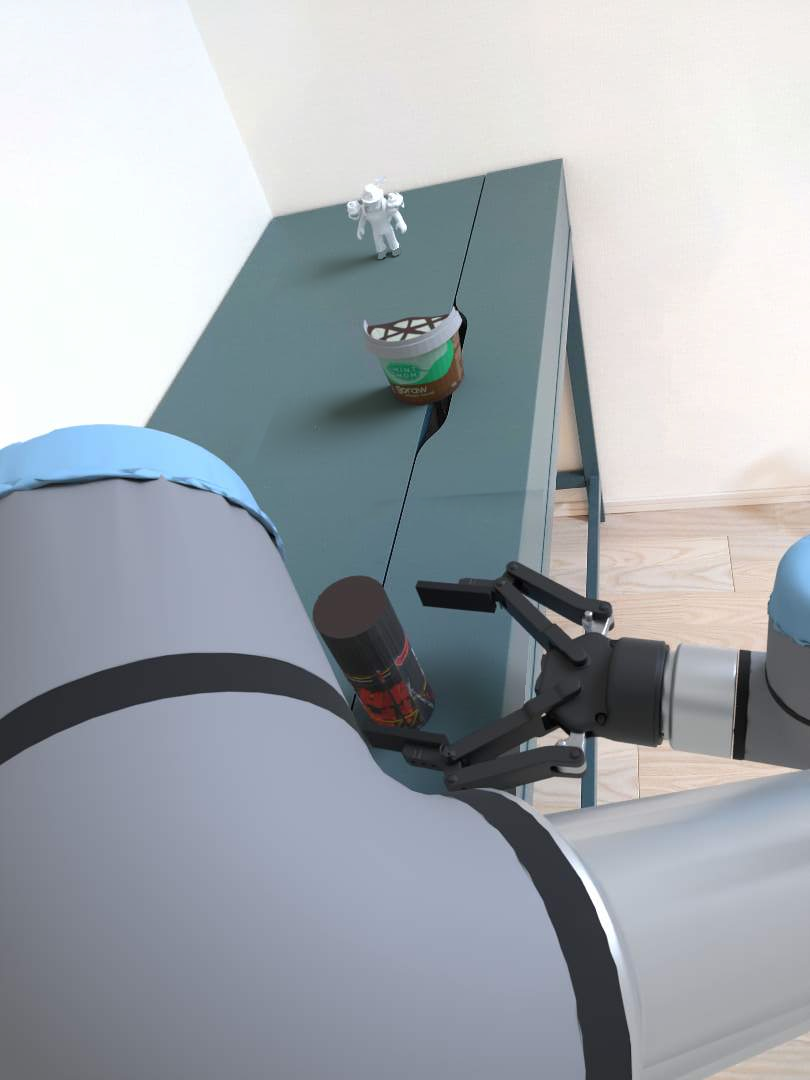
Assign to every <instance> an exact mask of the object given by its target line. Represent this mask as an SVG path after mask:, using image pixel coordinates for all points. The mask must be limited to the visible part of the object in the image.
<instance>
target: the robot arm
mask: <svg viewBox="0 0 810 1080" xmlns="http://www.w3.org/2000/svg"><path fill="white" fill-rule="evenodd" d="M285 558H286V552H285V544H284V543H283V540H282V538H281V536H280V534H279V532H278V530H277V526H276V525H275V524H274V523H273V521H272V520H271V519H270V518H269V516H268V515H267V514H266V513H265V512H263V511H262V510H261V508H260V507H259V505H258V503H257V502H256V499H255V498H254V496H253V494H252V492H251V491H250V488H248V486H247V485H246V483H245V482H244V481H243V480H242V478H241V477H240V475H238V474H237V473H236V471H234V470H233V469H232V468H231V467H230V466H229V465H228V464H227V463H225V461H223V460H222V459H221V458H219V457H218V456H216V455H215V454H213V453H212V452H210V451H209V450H207V449H206V448H205V447H202V446H200V445H198V444H196V443H194V442H192V441H190V440H187V439H185V438H183V437H180V436H178V435H174V434H172V433H168V432H164V431H161V430H158V429H153V428H148V427H143V426H136V425H128V424H113V423H105V424H104V423H103V424H102V423H97V424H81V425H73V426H66V427H61V428H57V429H53V430H52V431H49V432H48V433H45V434H41V435H39V436H35V437H33V438H30V439H28V440H26V441H17V442H13V443H11V444H8V445H5V446H4V447H2V448H1V449H0V1080H705V1079H707V1078H709V1077H712V1076H714V1075H716V1074H719V1073H721V1072H723V1071H726V1070H728V1069H730V1068H732V1067H734V1066H736V1065H739V1064H741V1063H744V1062H745V1061H748V1060H750V1059H752V1058H754V1057H757V1056H759V1055H761V1054H763V1053H766V1052H768V1051H770V1050H773V1049H775V1048H778V1047H779V1046H782V1045H784V1044H786V1043H788V1042H791V1041H793V1040H795V1039H797V1038H800V1037H802V1036H804V1035H807V1034H809V1033H810V534H807V535H805V536H803V537H801V538H800V539H798V540H797V541H795V542H794V543H793V544H792V545H791V546H790V547H788V549H787V550H786V551H785V552H784V554H783V556H782V557H781V559H780V560H779V562H778V565H777V568H776V573H775V577H774V578H775V579H774V583H773V587H772V591H771V593H770V595H769V599H768V601H767V604H766V605H767V609H766V610H767V613H766V614H767V615H768V620H767V635H766V637H767V638H766V640H767V641H766V651H756V650H748V649H739V648H733V647H726V646H725V647H724V646H716V645H707V644H698V643H690V642H681V643H679V644H678V645H677V646H676V649H675V650H671V648H670V645H669V644H667V643H666V641H664V640H657V639H647V638H638V637H630V636H629V637H628V636H623V637H620V638H618V639H613V638H610V637H607V636H608V633H609V632H611V631H613V630H614V628H615V618H614V611H613V605H612V603H610V602H609V601H607V600H601V599H595V598H590V597H585V596H583V595H582V594H579V593H578V592H576V591H574V590H572V589H570V588H568V587H566V586H564V585H562V584H560V583H558V582H556V581H555V580H553V579H551V578H549V577H547V576H545V575H543V574H541V573H540V572H538V571H536V570H534V569H533V568H530V567H529V566H527V565H525V564H523V563H521V562H519V561H516V560H512V561H509V562H508V563H507V564H506V565H505V571H504V573H502V575H501V576H500V577H497V578H496V579H486V578H485V579H484V578H472V577H463V578H459V580H458V583H455V582H442V581H431V580H420V579H419V580H417V581H416V584H415V586H414V588H415V590H416V593H417V595H418V597H419V600H420V603H421V604H422V607H429V608H438V609H448V610H457V611H458V610H459V611H469V612H477V613H479V612H480V613H488V614H495V613H496V610H497V606H498V605H499V609H500V610H505V611H506V612H507V613H508V614H509V615H510V616H511V617H512V619H514V620H515V621H516V623H518V625H520V626H521V628H523V630H525V631H526V632H527V633H528V634H529V635H530V636H531V637H532V639H534V640H535V641H536V642H537V643H538V645H540V647H542V648H543V649H544V651H545V652H546V653H542V655H541V659H540V673H539V675H538V677H537V678H536V680H535V683H534V688H533V690H534V694H535V697H533V698H530V699H528V700H527V701H525V703H524V704H523V706H522V707H521V708H519V709H517V710H516V711H513V712H511V713H509V714H507V715H505V716H503V717H501V718H499V719H498V720H496V721H494V722H491V723H490V724H488V725H486V726H484V727H483V728H481V729H479V730H477V731H475V732H473V733H470V734H469V735H467V736H465V737H463V738H461V739H460V740H458V741H455V742H453V743H450V741H449V739H448V737H447V734H444V733H443V734H442V733H437V732H431V731H426V730H420V729H419V730H413V729H407V728H401V727H395V726H389V725H383V724H377V723H373V722H372V721H364V723H363V725H362V728H361V730H360V727H359V725H358V723H357V721H356V719H355V716H354V713H353V711H352V710H351V707H350V705H349V703H348V701H347V699H346V697H345V695H344V693H343V690H342V688H341V686H340V684H339V681H338V680H337V678H336V675H335V673H334V671H333V668H332V666H331V664H330V662H329V660H328V657H327V655H326V653H325V651H324V649H323V647H322V644H321V642H320V640H319V638H318V635H317V633H316V631H315V629H314V627H313V624H312V622H311V619H310V618H309V616H308V613H307V611H306V608H305V607H304V605H303V602H302V600H301V597H300V595H299V593H298V591H297V589H296V587H295V585H294V583H293V580H292V578H291V576H290V574H289V571H288V570H287V567H286V565H285V562H286V561H285ZM529 599H531V600H532V601H534V602H536V603H537V604H539V605H541V606H543V607H545V608H547V609H548V610H550V611H552V612H554V613H555V614H557V615H559V616H561V617H563V618H565V619H567V620H568V621H570V622H572V623H573V624H576V625H578V626H580V627H582V628H583V630H584V631H585V632H586V633H584V634H582V635H579V636H577V637H574V638H572V637H571V636H569V635H568V634H567V633H566V632H565V631H564V630H563V629H562V628H561V626H559V624H557V623H555V622H554V623H553V622H552V621H551V620H550V619H548V617H547V616H546V615H544V614H543V612H541V610H540V609H538V607H536V606H535V604H533V603H532V602H531V601H530V600H529ZM497 603H498V604H497ZM559 729H561V730H562V731H563V732H564V733H565V734H566V735H567V736H568V737H567V738H565V739H558V740H557V741H556V742H555V744H554V745H544V746H539V747H535V748H531V749H528V750H523V751H520V752H517V753H513V754H508V755H505V756H502V757H500V756H501V755H503V754H505V753H507V752H509V751H511V750H513V749H515V748H516V747H518V746H521V745H522V744H525V743H527V742H528V741H530V740H532V739H534V738H538V739H539V738H544V737H545V736H547V735H549V734H550V733H553V732H555V731H556V730H559ZM362 733H363V734H362ZM363 735H364V736H365V739H366V740H367V741H368V743H369V744H370V746H371V747H372V748H373V749H380V750H385V751H391V752H397V753H401V755H402V757H403V759H404V761H405V762H406V763H407V764H408V765H409V766H411V767H416V768H422V769H427V770H432V771H436V772H437V771H438V772H442V773H444V776H443V783H444V785H445V787H446V789H447V792H442V793H441V792H440V793H435V794H433V793H432V794H425V793H422V792H418V791H414V790H411V789H410V788H408V787H407V786H405V785H404V784H402V783H401V782H399V781H398V780H395V778H393V777H392V776H389V775H388V774H386V773H385V772H384V771H383V770H382V769H381V767H380V766H379V765H378V763H377V762H376V761H375V759H374V758H373V756H372V754H371V752H370V750H369V748H368V746H367V743H366V741H365V739H364V737H363ZM593 738H602V739H606V740H610V741H612V742H616V743H623V744H630V745H636V746H641V747H642V746H643V747H649V748H654V749H656V748H657V747H658V746H661V745H663V741H668V742H669V743H668V744H669V747H670V748H671V749H672V750H673V751H676V752H684V753H690V754H697V755H703V756H710V757H716V758H723V759H729V760H731V759H732V760H735V761H747V762H753V763H758V764H764V765H765V764H766V765H770V766H776V767H782V768H787V769H793V770H795V771H792V772H791V771H789V772H785V773H779V774H773V775H768V776H761V777H755V778H750V779H749V778H748V779H744V780H743V779H742V780H738V781H732V782H726V783H720V784H715V785H709V786H703V787H698V788H692V789H685V790H679V791H674V792H668V793H662V794H657V795H651V796H644V797H638V798H633V799H628V800H622V801H616V802H609V803H603V804H599V805H594V806H592V805H591V806H587V807H581V808H576V809H575V808H574V809H568V810H564V811H558V812H551V813H544V814H542V813H541V812H540V811H539V810H538V809H536V808H535V807H533V806H532V805H530V803H528V802H526V801H525V800H524V799H522V798H520V797H518V796H516V795H514V794H512V793H509V792H508V791H506V790H509V789H513V788H517V787H521V786H525V785H529V784H533V783H536V782H540V781H543V780H548V779H552V778H564V779H566V778H567V779H583V778H585V777H586V776H587V775H588V772H589V769H588V765H587V764H588V763H587V760H586V748H587V740H590V739H593Z"/></svg>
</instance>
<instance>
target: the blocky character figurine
mask: <svg viewBox="0 0 810 1080" xmlns="http://www.w3.org/2000/svg"><path fill="white" fill-rule="evenodd" d="M387 177H388V175H387V174H382V176H381V177H379V178H378V179H374V182H375V183H376V184H374V183H368V184H367V185H365V186H364V188H363V190H362V194H361V196H360V199H361V202H362V204H360V202H359V201H358V200H357V199H355V200H354V199H353V198H351V200H350V201H349V202H348V203H347V204H346V207H347V209H346V211H347V213H348V215H347V217H348V218H349V219H351V220H353V221H358V226H357V231H356V236H357V237H356V238H357V239H358V240H360V241H361V240H362V239H363V236H364V235H365V231H366V229H365V226H366V223H367V221H368V222H369V223H370V226H371V228H372V235H373V241H374V245H375V249H376V253H377V252H382V251H384V250H385V249H386V248H387V247H386V244H385V243H384V236H385V238H386V240H387V243H388V245H389V248H390V250H391V249H392V250H395V249H397V248H399V245H400V244H399V242H398V240H397V237H396V235H395V231H398V229H400V232H401V235H403V234H406V232H407V227H408V226H407V225H406V223H405V221H404V218H403V216H402V215H401V213H400V211H398V210H399V208H400V206H401V208H403V209H405V203H404V197H403V195H402V194H400V193H399V192H397V191H395V192H390V193H388V194H387V198H385V197H384V190H383V189H381V188H379V187H382V186H383V183H385V182H386V181H387V180H386V179H388V178H387ZM352 216H353V217H352ZM354 216H355V217H354ZM356 216H357V217H356ZM392 219H394V220H395V221H396V222H395V223H396V224H395V231H394V228H393V226H392V225H391V221H392ZM362 235H363V236H362Z"/></svg>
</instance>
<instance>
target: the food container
mask: <svg viewBox="0 0 810 1080" xmlns="http://www.w3.org/2000/svg"><path fill="white" fill-rule="evenodd" d="M462 322H463V318H462V317H461V315H460V313H459V310H456V307H455V306H454V305H453V306H452V309H451V311H450V313H447V314H443V315H435V316H409V317H405V318H401V319H397V320H395V321H391V322H386V323H380V324H374V325H369V324H368V323H367V321H366V319H363V328H362V334H363V340H364V345H365V348H366V349H367V350H368V352H370V353H371V354H373V355H374V356H376V358H377V360H378V362H379V364H380V367H381V369H382V370H383V372H384V375H385V376H386V379H387V380H388V383H389V385H390V388H391V389H392V391H393V393H394V395H395V397H396V398H397V399H399V400H400V402H403V403H405V404H408V405H415V406H420V405H422V406H423V405H429V404H433V403H436V402H439V401H441V400H443V399H445V398H447V397H449V396H450V395H452V394H453V393H454V392H455V391H456V390H457V389H459V387H460V386H459V384H460V383H461V380H462V378H463V376H464V377H465V370H464V363H463V356H462V348H461V341H460V335H459V333H460V332H459V329H460V327H461V326H462ZM463 379H464V378H463ZM461 384H462V383H461ZM461 384H460V385H461ZM458 386H459V387H458ZM456 388H457V389H456ZM453 391H454V392H453Z"/></svg>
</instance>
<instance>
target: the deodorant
mask: <svg viewBox="0 0 810 1080" xmlns="http://www.w3.org/2000/svg"><path fill="white" fill-rule="evenodd" d="M312 622H313V624H314V627H315V628H316V630H317V632H318V634H319V635H320V637H321V638H322V640H323V642H324V644H325V645H326V647H327V649H328V650H329V652H330V653H331V655H332V657H333V658H334V660H335V662H336V663H337V665H338V667H339V668H340V670H341V672H342V674H343V675H344V677H345V679H346V680H347V682H348V684H349V686H350V687H351V689H352V690H353V692H354V694H355V695H356V697H357V699H358V700H359V702H360V703H361V705H362V707H363V709H364V710H365V712H366V713H367V716H368V717H369V719H370V721H371V723H377V724H383V725H389V726H395V727H401V728H407V729H413V730H420V729H422V727H424V726H425V725H426V724H427V723H428V721H429V720H430V718H431V717H432V714H433V712H434V709H435V696H434V692H433V690H432V688H431V686H430V684H429V681H428V680H427V678H426V676H425V674H424V670H423V669H422V667H421V665H420V663H419V661H418V658H417V656H416V654H415V652H414V650H413V647H412V646H411V643H410V641H409V639H408V636H407V635H406V632H405V630H404V628H403V625H402V624H401V621H400V619H399V618H398V615H397V613H396V611H395V609H394V606H393V605H392V603H391V601H390V599H389V596H388V594H387V592H386V589H385V588H384V586H383V584H381V583H380V581H378V580H377V579H375V578H373V577H371V576H367V575H350V576H346V577H343V578H341V579H339V580H337V581H334V582H332V583H331V584H330V585H329V586H327V587H326V588H325V589H324V590H323V591H322V592H321V593H320V594H319V595H318V597H317V599H316V600H315V602H314V605H313V608H312Z"/></svg>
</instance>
